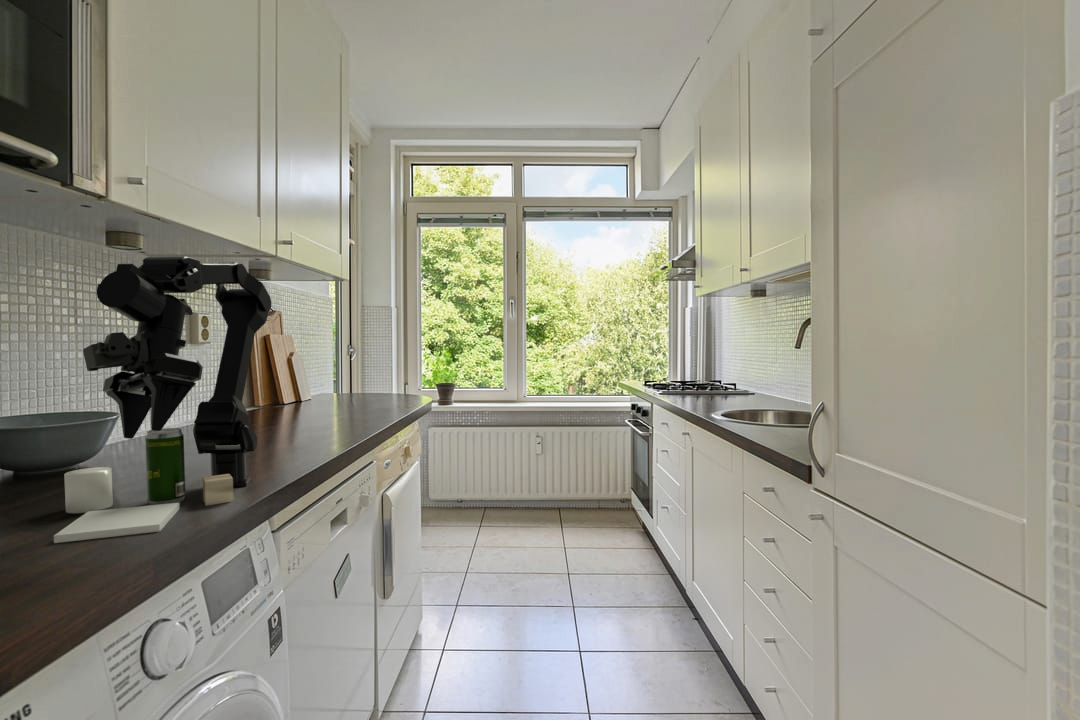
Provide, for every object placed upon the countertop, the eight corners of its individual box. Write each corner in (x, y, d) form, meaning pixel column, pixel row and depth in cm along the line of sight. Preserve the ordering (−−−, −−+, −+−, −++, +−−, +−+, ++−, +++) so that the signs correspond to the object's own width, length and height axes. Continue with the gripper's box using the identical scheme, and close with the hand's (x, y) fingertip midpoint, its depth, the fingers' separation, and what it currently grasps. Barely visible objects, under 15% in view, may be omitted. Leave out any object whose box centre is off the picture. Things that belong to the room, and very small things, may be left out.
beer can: (192, 496, 99) (189, 427, 99) (175, 505, 94) (172, 432, 94) (159, 497, 99) (156, 428, 98) (140, 506, 93) (137, 433, 93)
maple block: (203, 500, 97) (202, 477, 97) (230, 496, 99) (229, 473, 99) (205, 506, 94) (205, 481, 94) (233, 501, 96) (232, 478, 96)
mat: (88, 518, 88) (88, 511, 88) (179, 508, 92) (179, 502, 92) (53, 543, 76) (53, 535, 76) (159, 531, 81) (159, 524, 81)
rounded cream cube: (74, 505, 95) (73, 469, 95) (117, 501, 97) (116, 465, 97) (59, 515, 90) (57, 476, 89) (105, 510, 92) (103, 473, 92)
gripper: (73, 332, 87) (49, 435, 82) (124, 301, 76) (101, 417, 72) (154, 349, 95) (138, 444, 91) (210, 324, 85) (195, 429, 81)
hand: (141, 434), depth 83 cm, fingers open, 9 cm apart
